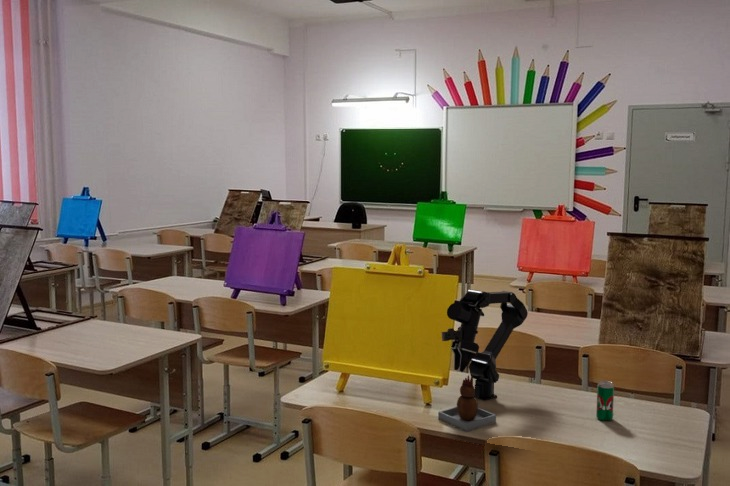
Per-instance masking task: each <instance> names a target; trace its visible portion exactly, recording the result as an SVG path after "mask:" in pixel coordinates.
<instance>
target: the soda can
mask: <svg viewBox="0 0 730 486" xmlns="http://www.w3.org/2000/svg"><path fill="white" fill-rule="evenodd" d="M596 387H597V390H596V414H595V415H596V419H598V420H600V421H603V422H610V421H612V420H613V419H614V400H615V399H614V397H615V396H614V395H615V385H614V383H613V382H612V381H609V380H600V381H598V383H597V386H596Z"/></svg>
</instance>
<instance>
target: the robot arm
mask: <svg viewBox="0 0 730 486" xmlns="http://www.w3.org/2000/svg"><path fill="white" fill-rule="evenodd" d="M491 304H493V305H495V304H500V305H499V308H500V310H501V322H500V323H499V326H498V327H497V329H496V330H495V332H494V334H493V335H492V337H491V339H490V340H489V342H488V344H486V347H485V348H484V350H483V351H482V352H479V349H480V346H479V344H478V343H476V342H475V340H476V335H478V333H479V330H478V328H479V324H480V319H481V317H485V313H484V312H483V310H482V309H485V308H487V307H489V306H490V305H491ZM528 313H529V312H528V310H527V307H526V306H525V304H524V302H522V301H521V300H520V298H518V297H517V296H516V294H515V293H514V292H512V291H508V290H507V291H506V290H502V291H483V290H482V291H481V290H476V289H467V291H466V293H464V295H463V296H462V297H461V298H460V299H454V302H453V303H451V304H450V305H449V306H448V308H447V310H446V315H447V318H449V320H452V321H453V322H454V321H455V322H457V323H459V324H460V326H458V328H457V330H455V328H454V327H451V328H447V330H446V331H441V340H442V342H448V341H451V342H452V346H451V347H450V350H451V349H452V350H451V352H452V353H453V357H454V358H453V359H454V360H453V370H454V371H458V370H459V372H461V373H463V372H464V371H465V369H466V368H467V367H468V371H469V374H470V375H469V376H470V377H471V376H472V375H473V380H474V382H475V383H474V389H475V394H474V396H473V397H474V398H478V399H479V400H482V401H487V400H492V399H494V398H498V395H497V394H495V393H494V392H495V384H496V383H497V382H499V379H500V374H499V373H498V371H497V370H496V369H497V360H496V359H497V358H498V356H499V354H500V352H501V351H502V349H503V347H504V346H505V344H506V343H507V341H508V339H509V338H510V335H511V334H512V332H513V331H514V329H516V328H518V327H521V325H522V324H524V321H526V319H527V317H528ZM468 365H469V366H468Z"/></svg>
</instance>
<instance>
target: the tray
mask: <svg viewBox="0 0 730 486" xmlns="http://www.w3.org/2000/svg"><path fill="white" fill-rule="evenodd" d="M437 413H438V414H437V415H438V416H437V418H438V420H439V421H441V422H444V423H446V424H449V425H450V426H452V427H454V426H455V427H454V428H457V429H459V430H461V429H462V431H463V430H464V431H463V432H465V431H466V432H465V433H467V431H468V432H470V431H471V432H472V431H474V430H478V429H479V428H482V427H486V426H489V425H493V424H495V423H497V414H495V413H493V412H490V411H488V410H485V409H482V408H480V407H478V410H477V414H476V416H475V418H474V419H473V420H471V421H466V420H463V419H461V418H460V416H459V414H458V411H457V406H453V407H451V408H447V409H444V410H440V411H438V412H437Z"/></svg>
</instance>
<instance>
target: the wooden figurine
mask: <svg viewBox="0 0 730 486" xmlns="http://www.w3.org/2000/svg"><path fill="white" fill-rule="evenodd" d="M459 393H460V396H459V397H458V398H457V402H456V407H457V411H458V414H459V416H460V418H461V419H463V420H466V421H471V420H473V419H474V418H475V416H476V414H477V410H478V408H479V406H478V401H477V399H476V397H474V394H475V385H474V379H473V375H472V376H471V375H469V374H468V375H467V377H465V378H464V379H463V380H462V384H461V386H460V388H459Z"/></svg>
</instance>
